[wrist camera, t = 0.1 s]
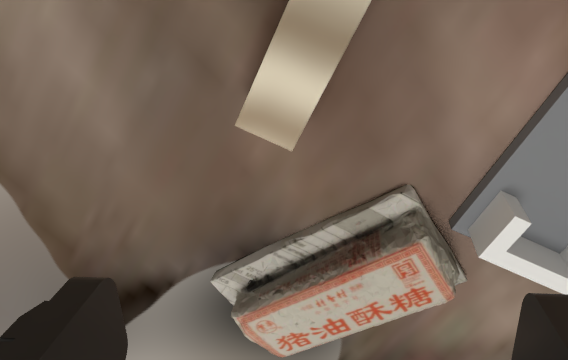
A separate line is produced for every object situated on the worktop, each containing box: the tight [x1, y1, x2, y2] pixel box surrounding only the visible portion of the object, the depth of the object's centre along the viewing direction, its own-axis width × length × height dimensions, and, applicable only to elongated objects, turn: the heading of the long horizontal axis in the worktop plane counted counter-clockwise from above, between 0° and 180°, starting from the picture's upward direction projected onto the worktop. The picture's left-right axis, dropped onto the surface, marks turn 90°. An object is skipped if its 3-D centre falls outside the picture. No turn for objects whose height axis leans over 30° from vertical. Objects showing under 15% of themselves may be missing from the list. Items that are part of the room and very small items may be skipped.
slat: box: [235, 0, 371, 151], centre depth 25 cm, size 14×4×5 cm, turn 156°
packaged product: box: [210, 185, 467, 357], centre depth 36 cm, size 18×5×10 cm
